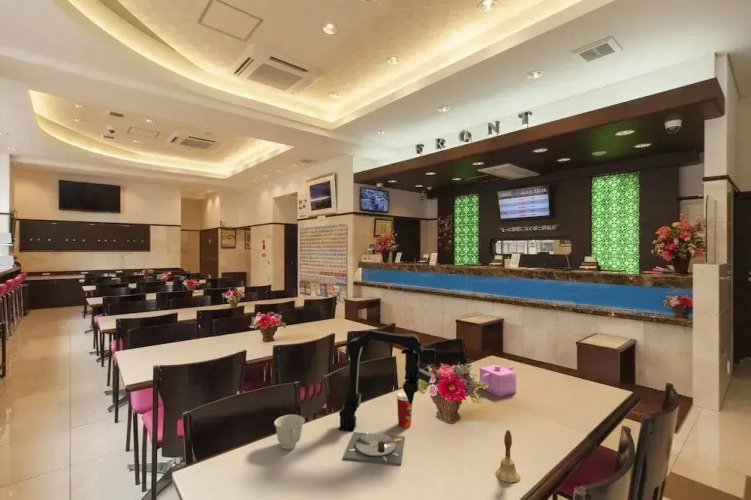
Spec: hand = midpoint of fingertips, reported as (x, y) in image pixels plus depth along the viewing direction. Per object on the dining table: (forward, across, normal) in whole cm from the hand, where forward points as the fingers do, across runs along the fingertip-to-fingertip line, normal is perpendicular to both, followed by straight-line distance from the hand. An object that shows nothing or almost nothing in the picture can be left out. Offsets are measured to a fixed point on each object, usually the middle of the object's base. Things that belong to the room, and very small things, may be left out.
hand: (411, 399), depth 164 cm
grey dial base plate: (+15, -15, +13) cm, 25 cm away
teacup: (+15, -20, +47) cm, 53 cm away
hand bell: (+15, -25, -36) cm, 46 cm away
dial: (+14, -15, +13) cm, 24 cm away
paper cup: (+15, +7, +3) cm, 17 cm away
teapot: (+15, +59, -47) cm, 77 cm away
